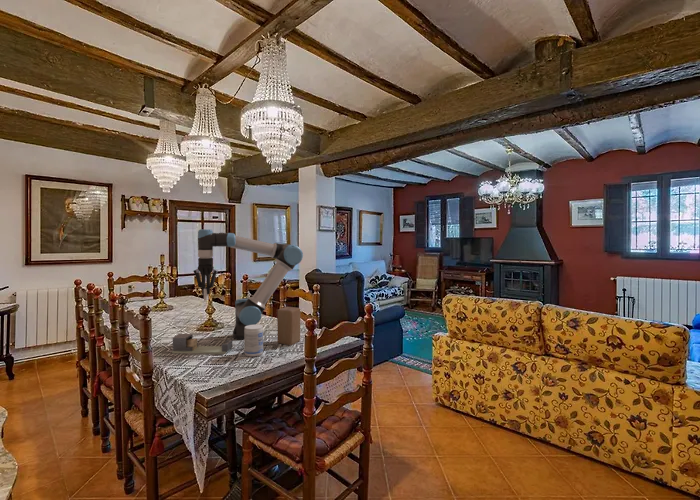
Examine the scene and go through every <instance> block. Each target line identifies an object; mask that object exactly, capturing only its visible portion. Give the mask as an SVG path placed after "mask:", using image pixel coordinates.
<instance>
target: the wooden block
mask: <svg viewBox="0 0 700 500" xmlns="http://www.w3.org/2000/svg"><path fill="white" fill-rule="evenodd" d="M276 311H277V312H276V313H277V320H276V321H277V322H276V323H277V327H276V329H277V331H276V332H277V334H276V335H277V337H276V339H277V343H278V344H279V345H280V344H281V345H287V346H293V345H295V344H297V343H299V342H300V341H301V308H300V307H293V306H285V307H282V308H278V309H277V310H276Z"/></svg>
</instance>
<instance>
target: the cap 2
mask: <svg viewBox="0 0 700 500" xmlns="http://www.w3.org/2000/svg"><path fill="white" fill-rule="evenodd" d="M221 346H222V352H227V353H228V352H229V351H230V350H231V349H232V348H233V339H226V340H225V343H221Z"/></svg>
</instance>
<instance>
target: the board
mask: <svg viewBox="0 0 700 500" xmlns="http://www.w3.org/2000/svg"><path fill="white" fill-rule="evenodd" d="M171 353H172V354H193V355H194V354H196V355H197V354H198V355H200V354H202V355H203V354H205V355H208V354H209V355H211V354H212V355H226V354H227V353H228V352H222V345H221V346H220V345H219V346H218V345H217V346H216V345H215V346H212V345H211V346H210V345H209V346H208V345H207V346H205V345H198V347H197V348H196V349H195V350H193V351H173V350H172V352H171Z"/></svg>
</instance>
